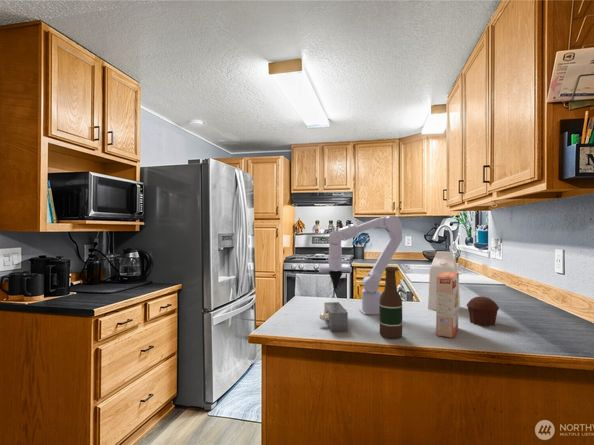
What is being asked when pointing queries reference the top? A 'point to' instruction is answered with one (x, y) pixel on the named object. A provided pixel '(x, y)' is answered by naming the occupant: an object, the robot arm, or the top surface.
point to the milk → (438, 266)
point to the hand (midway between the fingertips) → (335, 288)
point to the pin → (324, 316)
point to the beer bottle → (390, 308)
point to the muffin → (482, 311)
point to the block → (336, 317)
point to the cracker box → (447, 304)
